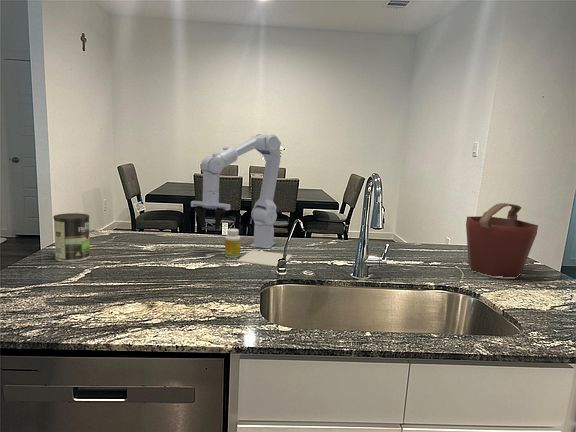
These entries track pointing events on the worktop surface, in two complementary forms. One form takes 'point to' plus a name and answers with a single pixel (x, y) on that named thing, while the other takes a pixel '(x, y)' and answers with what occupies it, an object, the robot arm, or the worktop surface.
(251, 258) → the mat
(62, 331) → the worktop surface
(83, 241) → the coffee can
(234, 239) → the supplement bottle
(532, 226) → the bucket
